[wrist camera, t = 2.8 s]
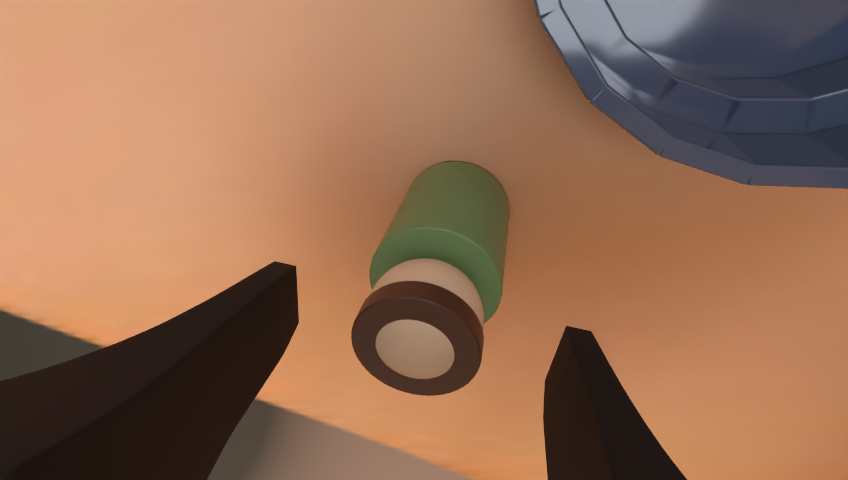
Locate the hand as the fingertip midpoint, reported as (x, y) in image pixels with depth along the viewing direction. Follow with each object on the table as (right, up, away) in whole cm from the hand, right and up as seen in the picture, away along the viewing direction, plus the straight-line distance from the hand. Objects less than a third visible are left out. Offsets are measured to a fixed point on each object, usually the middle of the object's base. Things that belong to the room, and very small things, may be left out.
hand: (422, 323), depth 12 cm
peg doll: (+1, +3, +6) cm, 7 cm away
